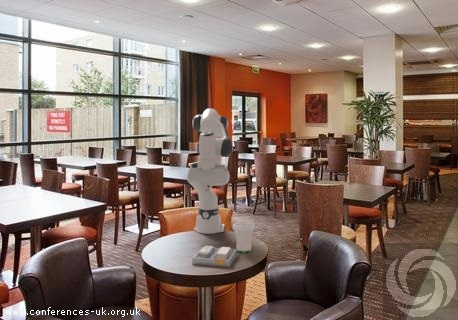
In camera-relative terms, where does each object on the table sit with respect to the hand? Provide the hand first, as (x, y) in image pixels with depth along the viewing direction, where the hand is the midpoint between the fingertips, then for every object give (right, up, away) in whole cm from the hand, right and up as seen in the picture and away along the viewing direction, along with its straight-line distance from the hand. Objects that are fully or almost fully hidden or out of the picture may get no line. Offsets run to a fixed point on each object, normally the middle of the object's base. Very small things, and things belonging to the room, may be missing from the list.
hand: (207, 191), depth 204 cm
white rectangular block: (+8, -32, -11) cm, 34 cm away
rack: (+4, -32, -10) cm, 34 cm away
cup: (+18, -31, +3) cm, 36 cm away
